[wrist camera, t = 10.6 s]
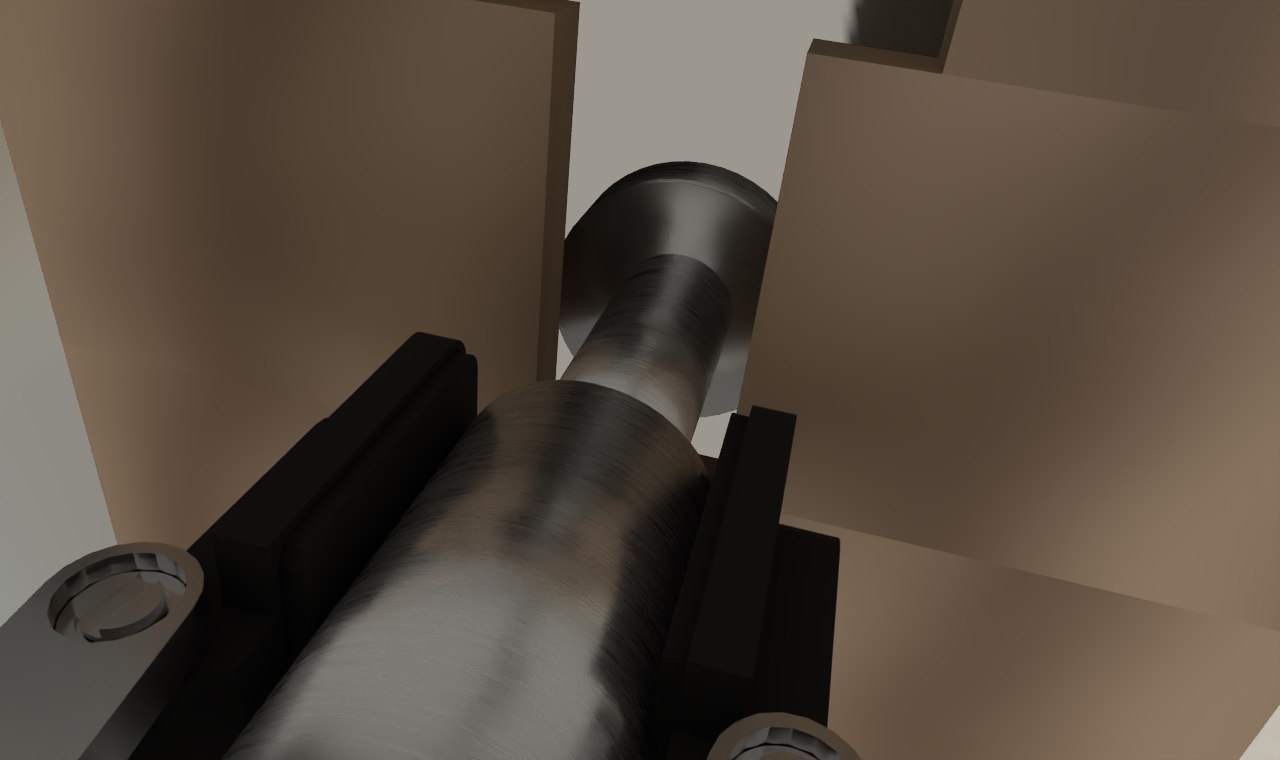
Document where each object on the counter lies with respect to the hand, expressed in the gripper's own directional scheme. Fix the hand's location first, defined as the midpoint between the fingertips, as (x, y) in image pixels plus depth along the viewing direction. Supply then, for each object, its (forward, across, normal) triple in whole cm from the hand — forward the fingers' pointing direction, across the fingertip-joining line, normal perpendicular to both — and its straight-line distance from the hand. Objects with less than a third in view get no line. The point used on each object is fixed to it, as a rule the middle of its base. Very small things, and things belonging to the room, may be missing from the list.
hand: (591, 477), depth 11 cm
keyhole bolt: (+6, 0, 0) cm, 6 cm away
